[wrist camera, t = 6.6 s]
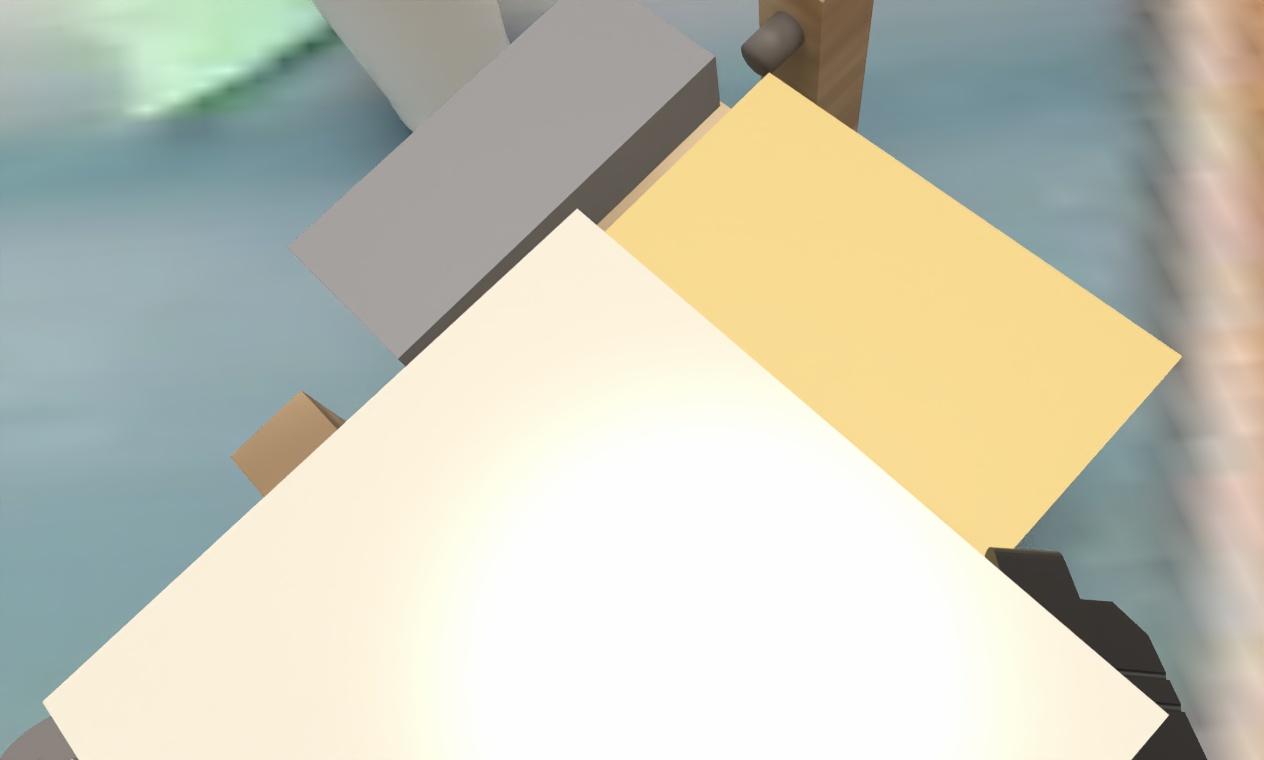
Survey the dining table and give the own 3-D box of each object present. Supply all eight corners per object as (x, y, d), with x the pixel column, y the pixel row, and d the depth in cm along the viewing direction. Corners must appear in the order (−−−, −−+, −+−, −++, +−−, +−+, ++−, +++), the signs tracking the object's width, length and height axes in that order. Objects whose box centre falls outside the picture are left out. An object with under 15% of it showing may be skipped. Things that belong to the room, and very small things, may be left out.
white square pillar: (480, 721, 16) (41, 701, 6) (692, 507, 16) (577, 209, 7) (696, 980, 14) (527, 1474, 5) (923, 727, 15) (1168, 713, 5)
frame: (341, 481, 34) (81, 338, 22) (719, 115, 37) (686, -201, 24) (464, 619, 32) (255, 549, 19) (859, 216, 35) (903, -75, 22)
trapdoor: (312, 293, 25) (272, 256, 23) (615, 13, 27) (602, -43, 25) (797, 786, 19) (799, 792, 17) (1144, 390, 21) (1182, 356, 19)
